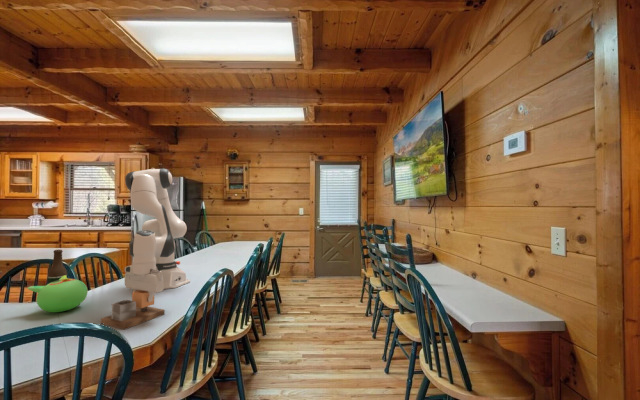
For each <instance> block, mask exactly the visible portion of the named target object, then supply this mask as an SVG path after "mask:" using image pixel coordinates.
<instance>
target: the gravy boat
mask: <svg viewBox="0 0 640 400" xmlns="http://www.w3.org/2000/svg"><path fill="white" fill-rule="evenodd" d="M27 290H29V291H31V292H35V293H37V295H36V304H37V305H38V307H39V309H41V310H43V311H45V312H48V313H61V312H66V311H70V310H72V309H74V308H76V307H77V306H79V305H81V304H82V303H83V302H84V301H85V300H86V298H87V295H88V286H87V284H85V282H83V281H81V280H79V279H77V278H68V275H67V276H66V275H64V276H62V277H61V278H60V279H59V280H57V281H54V282H51V283H49V284H48V283H46V285H32V286H28V287H27Z"/></svg>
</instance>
